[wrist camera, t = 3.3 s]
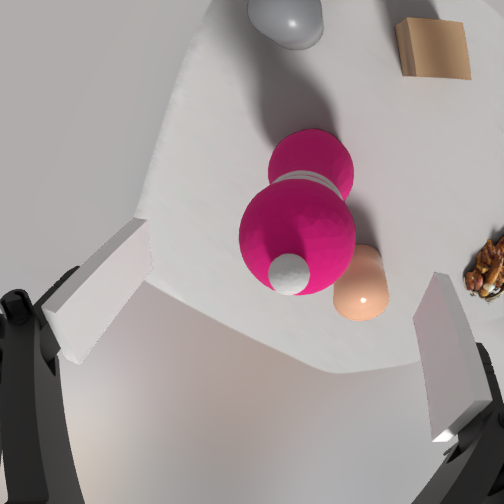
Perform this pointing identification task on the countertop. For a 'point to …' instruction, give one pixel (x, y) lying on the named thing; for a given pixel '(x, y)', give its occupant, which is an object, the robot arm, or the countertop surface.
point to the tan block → (433, 48)
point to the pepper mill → (301, 216)
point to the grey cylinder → (288, 21)
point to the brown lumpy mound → (487, 272)
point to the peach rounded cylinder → (362, 286)
